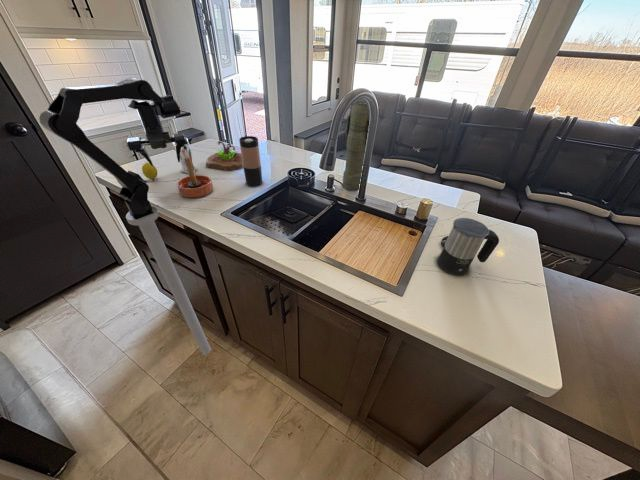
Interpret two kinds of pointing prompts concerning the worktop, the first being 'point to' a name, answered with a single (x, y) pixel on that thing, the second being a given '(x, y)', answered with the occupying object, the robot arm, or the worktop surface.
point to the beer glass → (185, 152)
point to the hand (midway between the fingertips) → (166, 163)
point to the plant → (225, 159)
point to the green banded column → (355, 145)
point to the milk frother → (466, 245)
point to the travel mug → (251, 160)
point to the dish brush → (191, 174)
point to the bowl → (195, 192)
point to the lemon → (149, 171)
